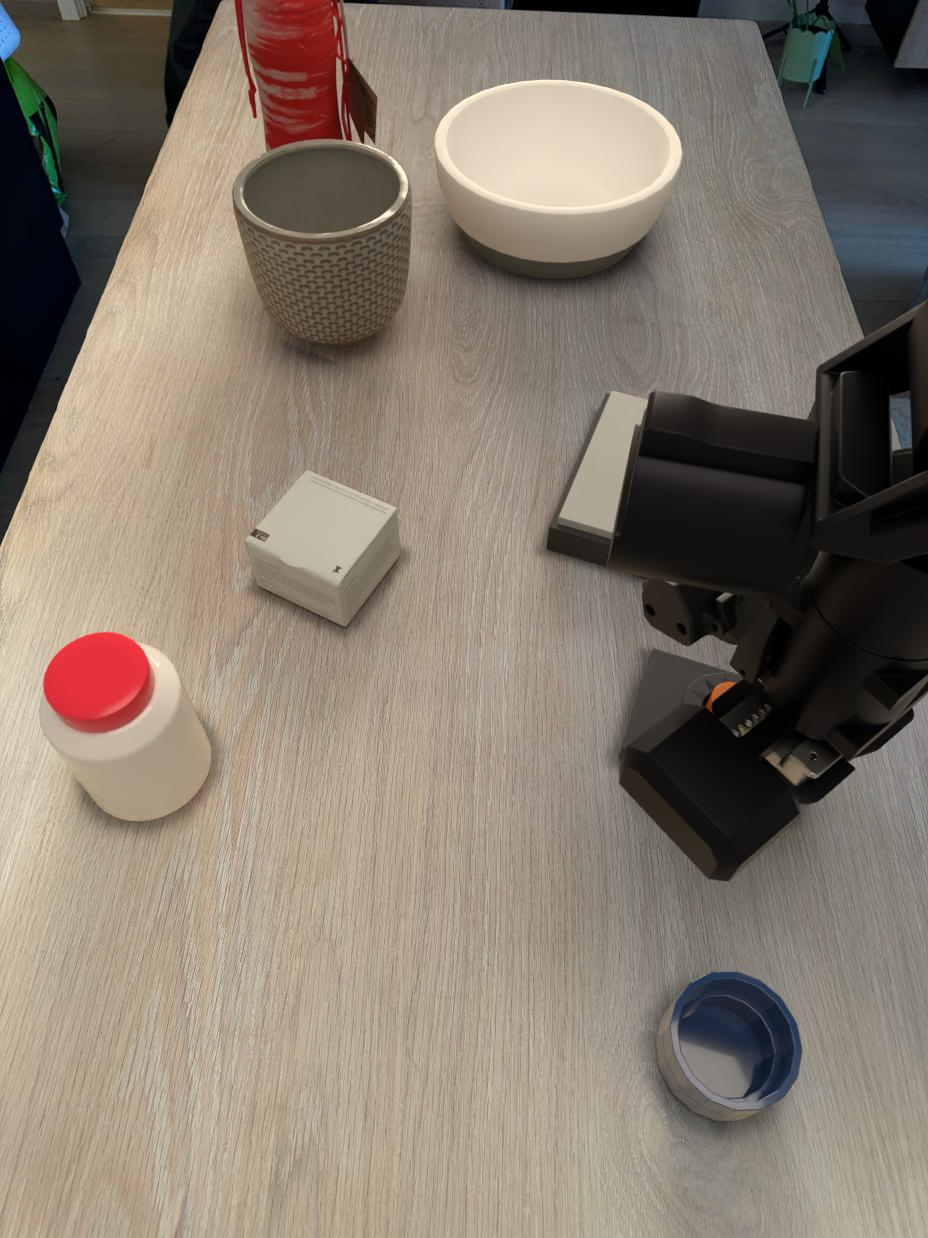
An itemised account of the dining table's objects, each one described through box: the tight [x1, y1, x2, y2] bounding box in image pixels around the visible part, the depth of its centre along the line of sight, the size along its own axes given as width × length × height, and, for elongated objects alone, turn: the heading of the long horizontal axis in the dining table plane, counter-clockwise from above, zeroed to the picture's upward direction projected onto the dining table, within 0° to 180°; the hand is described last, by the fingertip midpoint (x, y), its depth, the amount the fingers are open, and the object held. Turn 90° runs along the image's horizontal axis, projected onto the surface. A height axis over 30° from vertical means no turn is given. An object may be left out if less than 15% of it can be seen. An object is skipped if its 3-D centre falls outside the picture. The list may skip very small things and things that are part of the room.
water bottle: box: [233, 0, 378, 152], centre depth 83 cm, size 12×8×25 cm, turn 84°
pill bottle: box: [38, 631, 213, 822], centre depth 55 cm, size 8×8×11 cm
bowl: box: [433, 79, 684, 280], centre depth 89 cm, size 22×22×8 cm
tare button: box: [706, 682, 735, 712], centre depth 58 cm, size 3×3×2 cm
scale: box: [545, 390, 648, 580], centre depth 71 cm, size 16×15×3 cm
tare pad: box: [618, 647, 799, 807], centre depth 60 cm, size 11×8×3 cm
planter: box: [231, 139, 413, 350], centre depth 78 cm, size 14×14×13 cm
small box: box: [243, 469, 402, 628], centre depth 66 cm, size 8×8×5 cm
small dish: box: [655, 970, 803, 1122], centre depth 49 cm, size 6×6×4 cm
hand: (768, 776), depth 47 cm, fingers closed
